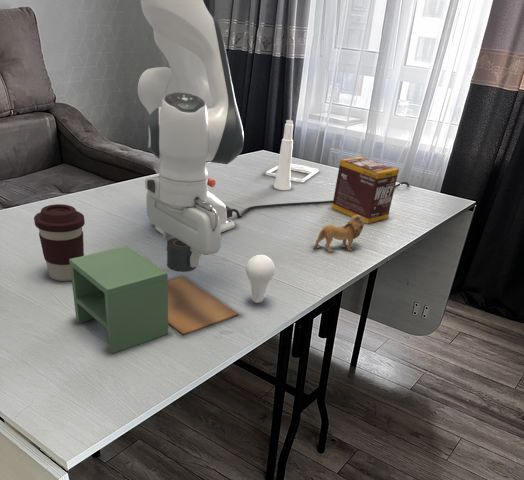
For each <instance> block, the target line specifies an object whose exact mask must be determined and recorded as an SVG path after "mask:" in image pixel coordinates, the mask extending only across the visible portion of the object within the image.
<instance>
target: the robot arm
mask: <svg viewBox="0 0 524 480" xmlns="http://www.w3.org/2000/svg"><path fill="white" fill-rule="evenodd" d="M140 6H141V11H142V14H143V16H144V18H145V20H146V22H147V23H148V24H149V26H151V28H152V30H153V32H152V33H153V38H154V39H153V40H154V43H155V45H156V47H157V49H158V50H160V52H161V53H162V54H163V55H164V57H165V59H166V60H167V63H168V65H169V67H166V66H158V67H151V68H147V69H146V70H144V71H143V72H142V74H141V75H140V76H139V79H138V83H137V96H138V99H139V101H140V103H141V104H142V106H143V107H144V108H145V109H146V111H147V113H148V114H149V115H148V116H147V117H146V121H147V143H146V144H147V145H146V147H147V149H148V150H149V151H150V152H151V153H152V154H153V155H154V156H155V157H156V158H157V159H159V164H160V165H159V172H158V176H152V177H147V178H145V180H144V186H145V190H147V192H146V198H145V199H146V202H145V203H146V216H147V219H148V221H149V223H150V224H152V225H154V229H155V231H157V232H158V233H160V234H162V236H163V239H164V242H165V244H166V245H165V246H166V249H165V250H166V251H167V242H168V240H170V239H173V238H177V239H178V240H180V241H182V242H183V243H185V244H187V245H188V246H190V251H191V252H192V254H191V256H190V257H187V261H188V262H187V264H188V265H189V266H191V267H196V268H197V267H199V266H200V258H201V256H202V255H203V256H209V255H213V254H217V253H218V252H219V251H220V249H221V247H222V234H221V233H223V232H226V231H229V230H231V229H232V230H233V229H234V228H235V227H236V225H235V221H234V220H233V219H231V218H232V217H233V212H234V213H236V216H237V217H238V218H243V217H244V216H245V215H246V214H247V212H249V211H250V210H254V209H264V208H265V209H266V208H275V207H288V206H289V207H290V206H305V205H306V206H307V205H321V204H322V205H323V204H333V199H332V200H320V201H302V202H288V203H287V202H286V203H285V202H284V203H272V204H259V205H251V206H248V207H247V208H245V209H244V210H243V212H242V213H241V214H240V212H239V210H238V209H236V208H231V207H229V206H227V205H226V204H225V203H224V202H223V201H222V200H221V199H219V198H218V197H217V195H215V194H214V193H212V192H211V191H210V190H209V187H210V188H214V187H215V186H216V185H217V183H216V182H217V181H216V180H215V179H213V178H210V177H209V178H208V174H209V173H208V170H207V162H210V163H213V164H220V165H228V164H230V163H232V162H233V161H234V160H235V159H237V157H238V156H239V155H240V154H241V153H242V152H243V148H244V142H245V141H244V140H245V134H244V128H243V124H242V119H241V116H240V111H239V108H238V105H237V101H236V96H235V91H234V85H233V79H232V76H231V75H232V74H231V70H230V65H229V64H230V63H229V58H228V53H227V48H226V44H225V41H224V35H223V32H222V28H221V25H220V23H219V20H218V19H217V18H216V17H214V16H213V15H212V14H211V13H210V11H209V9H208V8H207V6H206V4H205V2H204V0H140ZM400 184H401V185H400ZM402 185H406V186H407V187H410V183H408V181H401V182H399V183H396V184H395V188H394V189H396V188H398V187H400V186H402Z"/></svg>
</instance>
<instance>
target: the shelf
mask: <svg viewBox="0 0 524 480" xmlns="http://www.w3.org/2000/svg"><path fill="white" fill-rule="evenodd" d="M69 262H70V270H71V278H72V280H71V286H72V295H73V304H74V310H75V311H74V312H75V318H76V321H77V323H83V322H86V321H90V320H92V319H94V320H96V321H97V322H98V323H99V324H100V325H101V326H103V328H105V329H106V330H107V341H108V342H107V343H108V351H109V352H110V353H111V354H115V353H116V354H117V353H119V352H120V351H121V352H122V351H124V350H126V349H127V350H128V349H130V348H132V347H135V346H138V345H142V344H143V343H146V342H149V341H152V340H155V339H157V338H158V339H159V338H161V337H163V336H164V337H165V336H166V335H168V334H169V324H168V281H169V273H168V272H167V271H166V270H164V269H162V268H161V267H160V266H158V265H157V264H156V263H154V262H152V261H151V260H149V259H148V258H146V257H145V256H143V255H142V254H141V253H139V252H137V251H136V250H135V249H133V248H132V247H130V246H128V245H125V246H119V247H116V248H112V249H108V250H103V251H99V252H94V253H90V254H86V255H85V254H84V256H81V257H76V258H72V259H69Z"/></svg>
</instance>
